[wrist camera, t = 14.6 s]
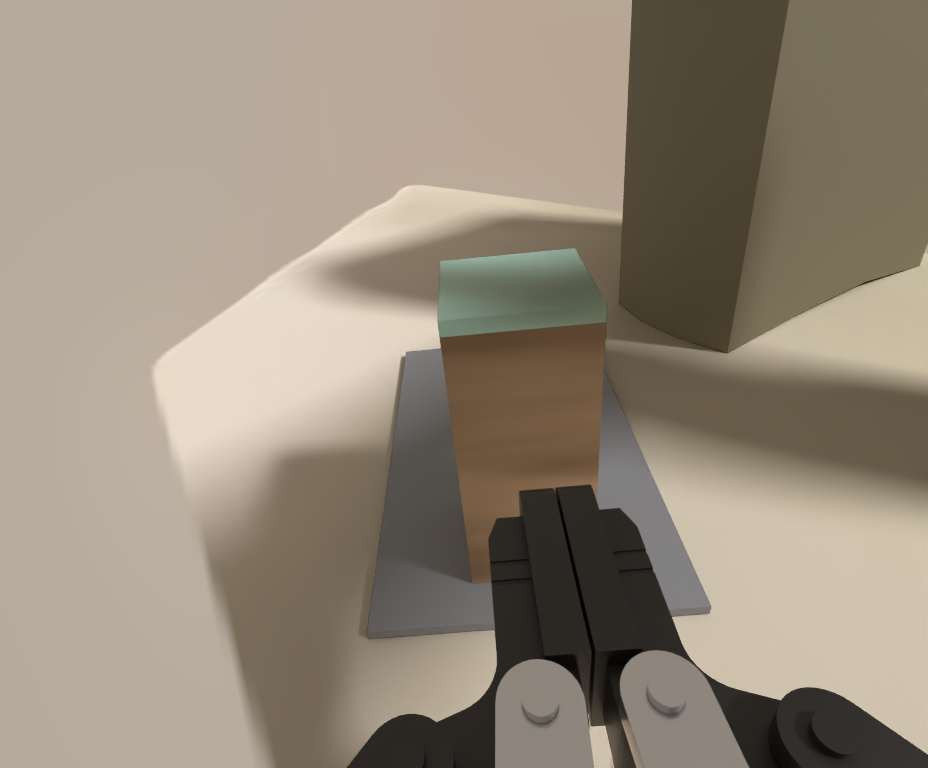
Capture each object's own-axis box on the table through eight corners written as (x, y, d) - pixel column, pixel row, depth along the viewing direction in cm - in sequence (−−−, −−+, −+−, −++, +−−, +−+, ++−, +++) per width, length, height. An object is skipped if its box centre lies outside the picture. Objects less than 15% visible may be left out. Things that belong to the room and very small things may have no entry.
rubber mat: (406, 357, 36) (406, 351, 36) (588, 340, 36) (588, 334, 36) (369, 638, 19) (366, 632, 19) (709, 613, 19) (711, 606, 19)
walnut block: (469, 497, 24) (440, 261, 18) (570, 489, 24) (575, 248, 18) (472, 584, 20) (437, 320, 15) (593, 574, 20) (607, 305, 14)
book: (717, 366, 33) (837, -368, 18) (610, 313, 40) (629, -243, 25) (919, 265, 41) (1128, -309, 25) (799, 236, 48) (905, -226, 32)
